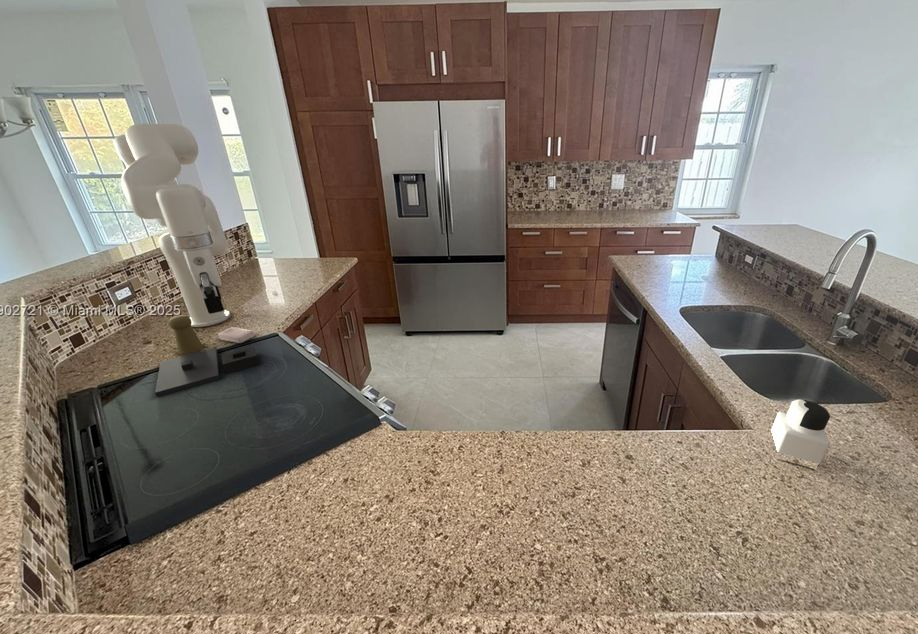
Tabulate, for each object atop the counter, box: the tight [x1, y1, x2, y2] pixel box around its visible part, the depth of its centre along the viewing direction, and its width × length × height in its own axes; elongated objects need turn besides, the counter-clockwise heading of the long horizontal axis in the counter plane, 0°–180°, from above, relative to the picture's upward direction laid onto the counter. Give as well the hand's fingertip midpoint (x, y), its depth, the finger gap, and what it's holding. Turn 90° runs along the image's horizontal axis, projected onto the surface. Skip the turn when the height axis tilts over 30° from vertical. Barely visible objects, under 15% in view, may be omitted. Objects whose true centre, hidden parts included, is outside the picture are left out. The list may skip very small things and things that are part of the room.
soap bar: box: [217, 326, 255, 344], centre depth 119 cm, size 5×9×2 cm, turn 73°
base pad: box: [154, 347, 221, 397], centre depth 102 cm, size 18×13×3 cm
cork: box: [168, 314, 204, 355], centre depth 111 cm, size 6×6×11 cm
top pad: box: [221, 346, 260, 374], centre depth 105 cm, size 6×8×3 cm
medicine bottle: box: [770, 399, 831, 465], centre depth 74 cm, size 7×7×12 cm
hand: (215, 306), depth 96 cm, fingers open, 9 cm apart
